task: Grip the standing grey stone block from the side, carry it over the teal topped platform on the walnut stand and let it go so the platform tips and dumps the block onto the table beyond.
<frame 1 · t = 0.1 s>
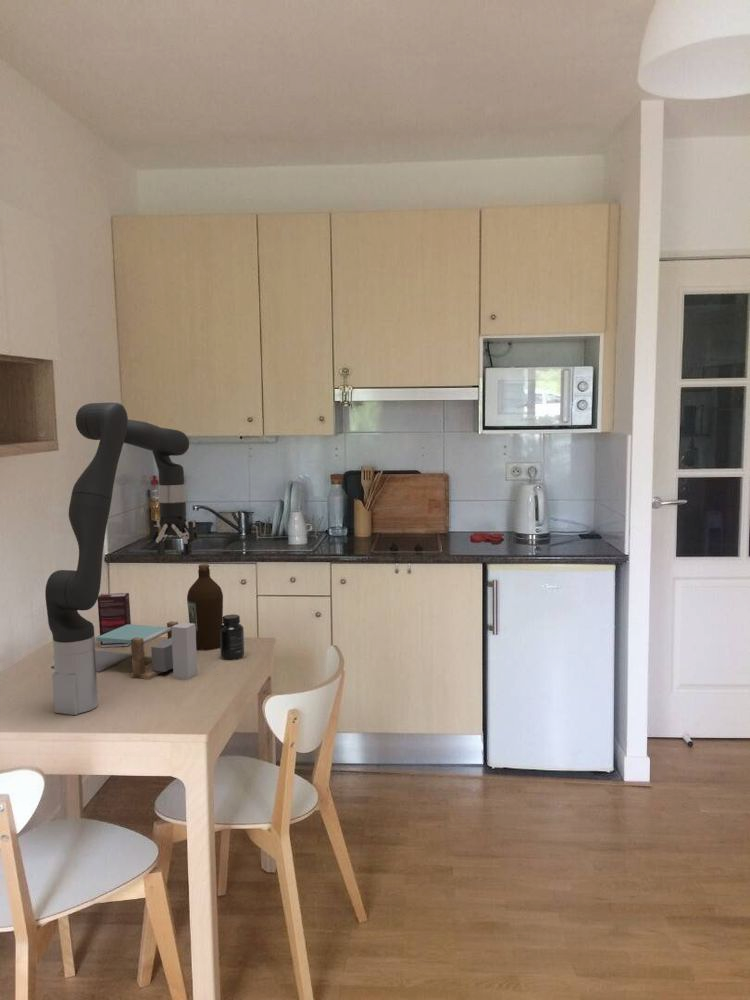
hand: (174, 555, 225), 29 cm above the table, tool pointing down, fingers open, 8 cm apart
supplement bottle: (232, 657, 223), on the table
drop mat: (93, 661, 221), on the table
trapdoor stand: (157, 667, 215), on the table
supplement box: (116, 645, 237), on the table
olive oil: (206, 646, 235), on the table
teal topped platform: (144, 647, 215), point 5 cm above the table, hinge at 0.0°
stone: (185, 676, 206), on the table
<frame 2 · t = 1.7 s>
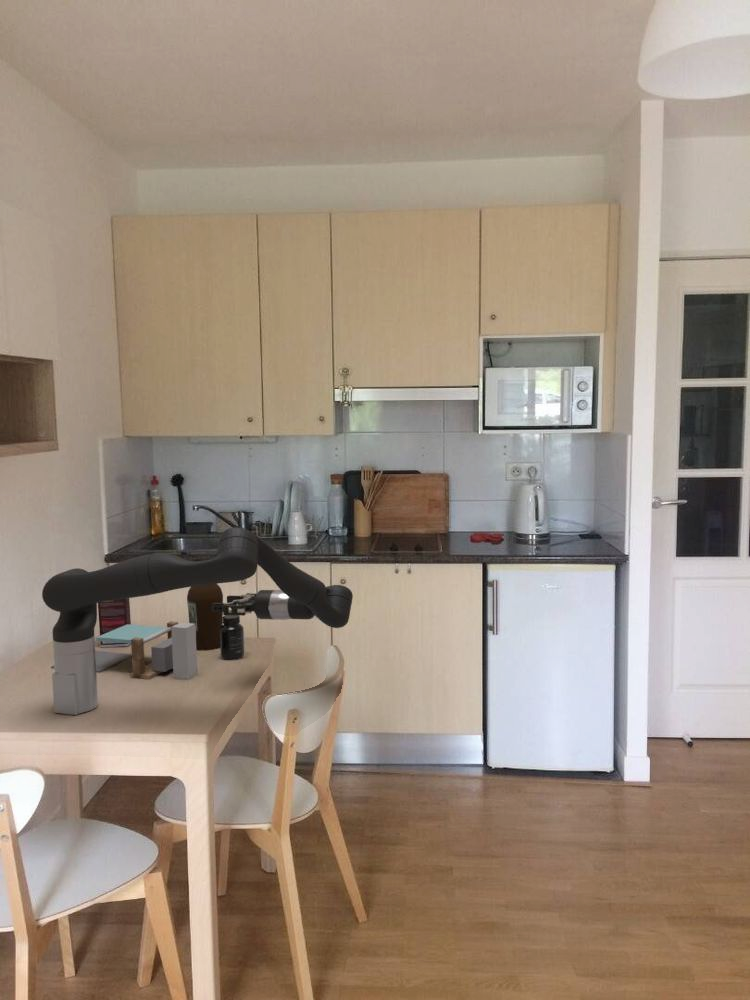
hand: (219, 603, 202), 20 cm above the table, tool horizontal, fingers open, 8 cm apart
nothing on the table moved.
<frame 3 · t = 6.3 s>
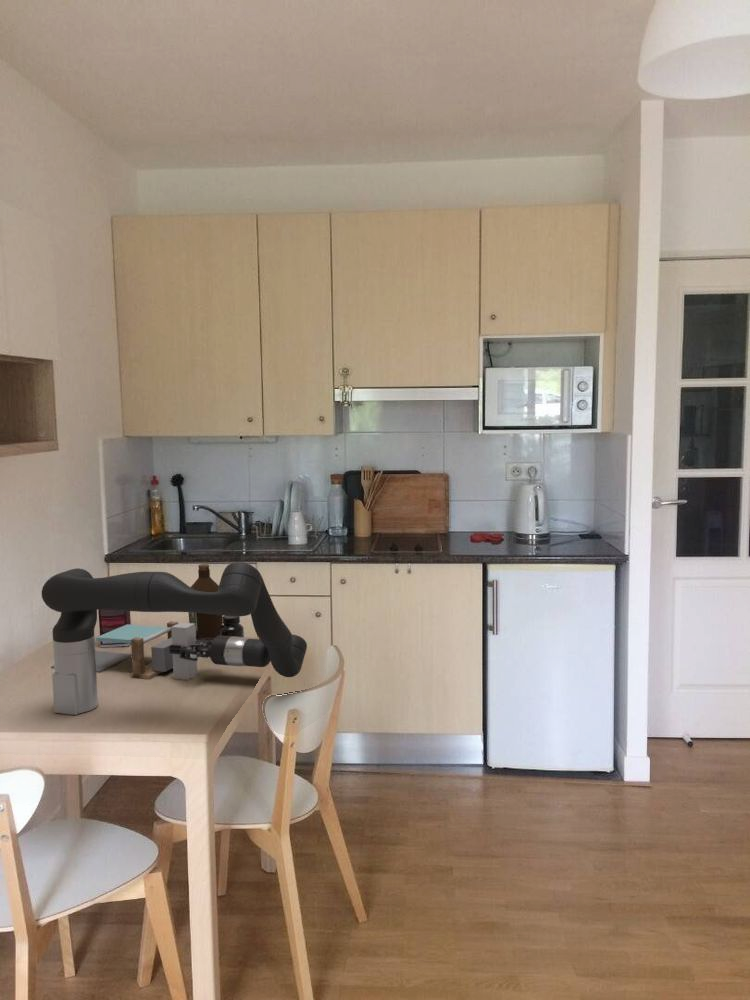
hand: (175, 646, 206), 8 cm above the table, tool horizontal, fingers closed on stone, 4 cm apart
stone: (185, 676, 206), on the table, touching gripper
everything else where it was.
when the fingers open (19 cm above the table, at t = 10.5 s): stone drops 7 cm and tips over, resting on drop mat, teal topped platform.
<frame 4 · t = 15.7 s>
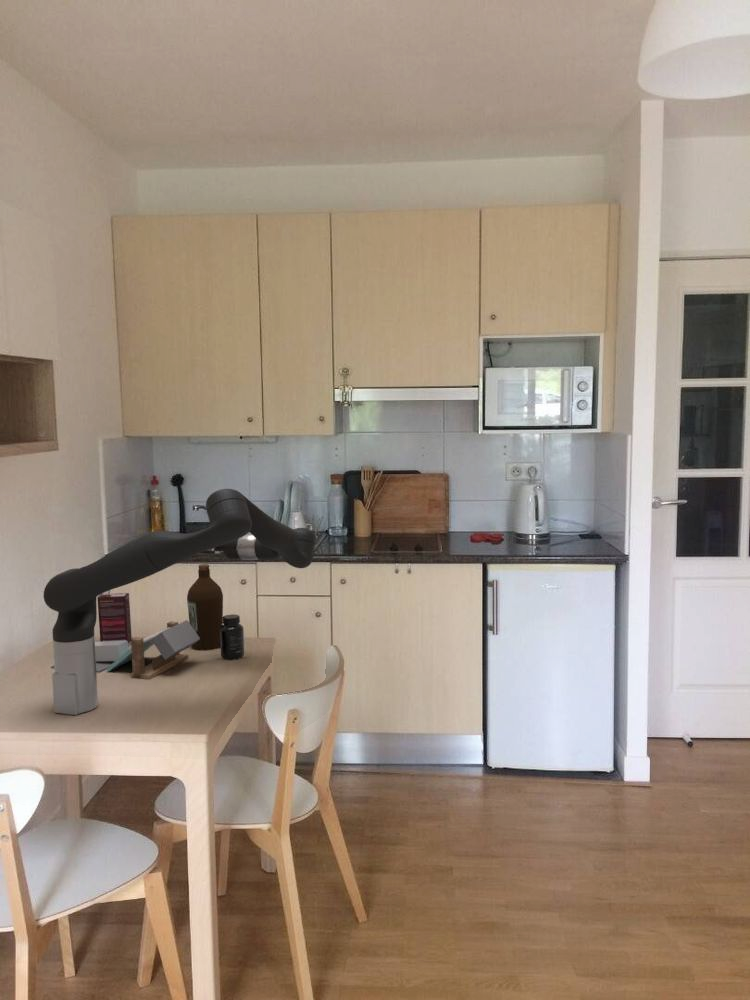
hand: (192, 544, 214), 34 cm above the table, tool horizontal, fingers open, 8 cm apart
teal topped platform: (154, 653, 215), point 4 cm above the table, hinge at -37.3°, touching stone
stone: (123, 650, 218), point 4 cm above the table, tilted 95°, touching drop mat, teal topped platform
everything else where it was.
at the end: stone point 3.9 cm above the table; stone moved 23.6 cm from its start; the gripper is holding nothing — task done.
